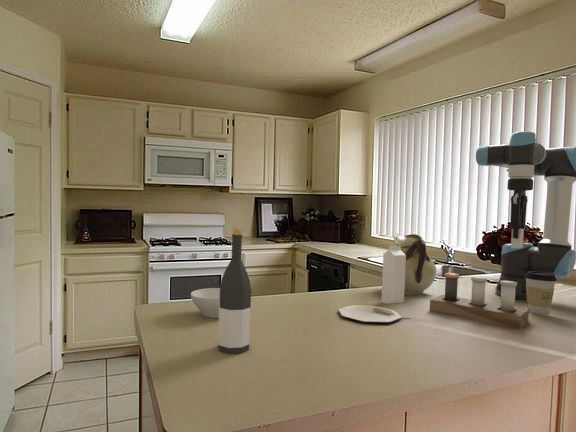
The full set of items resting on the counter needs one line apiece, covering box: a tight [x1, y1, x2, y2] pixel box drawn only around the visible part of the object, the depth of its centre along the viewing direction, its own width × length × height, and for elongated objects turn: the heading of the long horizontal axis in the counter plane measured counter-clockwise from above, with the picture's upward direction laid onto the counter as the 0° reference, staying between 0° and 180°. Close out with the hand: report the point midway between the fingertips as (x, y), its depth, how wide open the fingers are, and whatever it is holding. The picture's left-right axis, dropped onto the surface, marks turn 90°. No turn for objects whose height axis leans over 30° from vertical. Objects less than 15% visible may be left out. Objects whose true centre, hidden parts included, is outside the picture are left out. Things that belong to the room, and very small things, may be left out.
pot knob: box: [444, 272, 460, 301], centre depth 143 cm, size 5×5×9 cm
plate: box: [337, 304, 402, 324], centre depth 136 cm, size 20×20×2 cm
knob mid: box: [470, 276, 488, 306], centre depth 137 cm, size 5×5×9 cm
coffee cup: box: [525, 271, 557, 317], centre depth 146 cm, size 10×10×15 cm
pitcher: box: [393, 233, 437, 296], centre depth 176 cm, size 22×24×25 cm
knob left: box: [499, 281, 517, 311], centre depth 131 cm, size 5×5×9 cm
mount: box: [429, 294, 529, 330], centre depth 137 cm, size 12×28×5 cm, turn 49°
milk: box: [381, 245, 406, 305], centre depth 155 cm, size 6×6×22 cm
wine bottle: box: [217, 228, 252, 355], centre depth 101 cm, size 8×8×30 cm
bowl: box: [190, 287, 220, 319], centre depth 131 cm, size 16×16×7 cm
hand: (516, 247), depth 137 cm, fingers open, 3 cm apart
